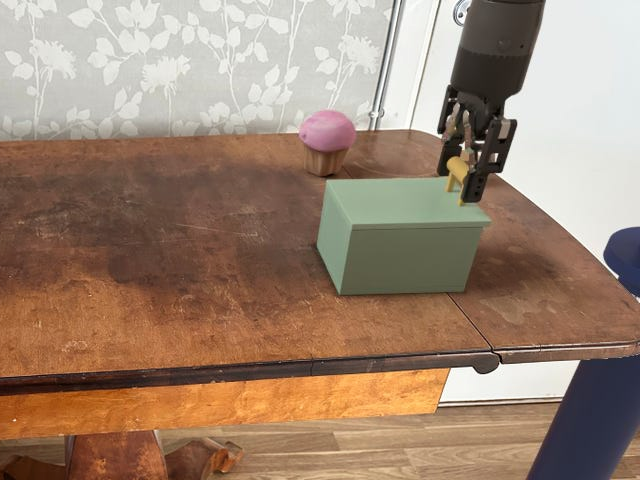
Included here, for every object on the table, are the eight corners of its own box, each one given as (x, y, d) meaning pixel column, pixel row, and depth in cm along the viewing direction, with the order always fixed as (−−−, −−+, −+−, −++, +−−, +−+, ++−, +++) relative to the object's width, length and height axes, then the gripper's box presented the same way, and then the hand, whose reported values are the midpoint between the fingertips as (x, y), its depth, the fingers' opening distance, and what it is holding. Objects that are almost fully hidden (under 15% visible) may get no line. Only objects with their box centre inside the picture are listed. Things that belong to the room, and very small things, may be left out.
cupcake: (326, 158, 121) (335, 100, 115) (360, 176, 115) (371, 115, 109) (284, 168, 118) (291, 108, 112) (317, 187, 112) (326, 124, 106)
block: (465, 176, 115) (473, 149, 113) (477, 187, 112) (484, 160, 109) (439, 176, 115) (445, 150, 112) (449, 188, 112) (456, 160, 109)
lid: (450, 182, 92) (460, 144, 89) (490, 227, 82) (503, 185, 79) (325, 185, 91) (331, 147, 88) (351, 230, 81) (358, 188, 78)
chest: (428, 243, 97) (443, 183, 92) (463, 291, 87) (483, 227, 82) (316, 246, 97) (325, 185, 91) (339, 295, 87) (350, 230, 81)
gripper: (564, 61, 70) (513, 213, 80) (502, 27, 81) (464, 164, 91) (490, 62, 70) (448, 214, 80) (438, 28, 81) (407, 165, 91)
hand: (457, 187), depth 85 cm, fingers open, 7 cm apart
